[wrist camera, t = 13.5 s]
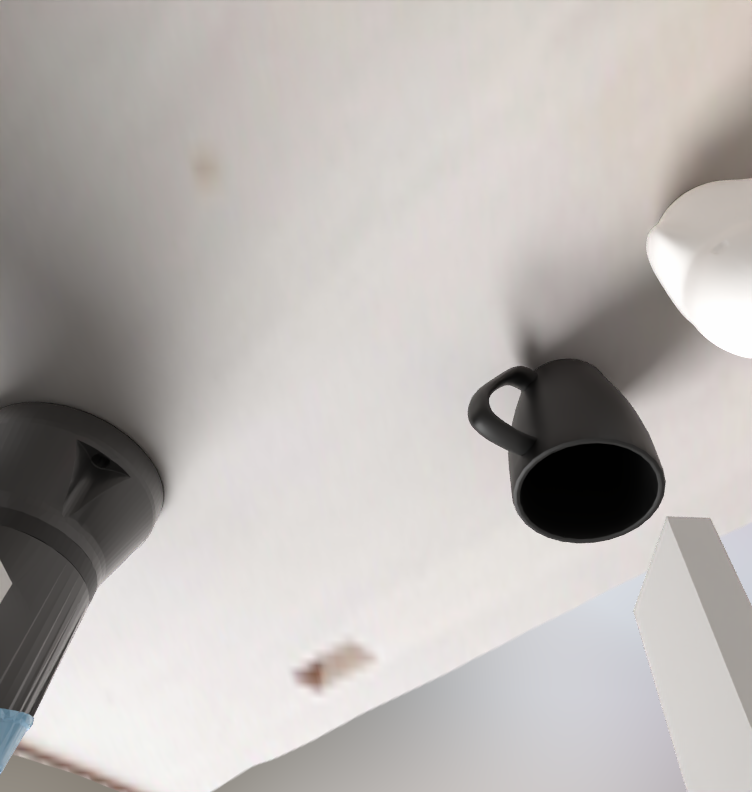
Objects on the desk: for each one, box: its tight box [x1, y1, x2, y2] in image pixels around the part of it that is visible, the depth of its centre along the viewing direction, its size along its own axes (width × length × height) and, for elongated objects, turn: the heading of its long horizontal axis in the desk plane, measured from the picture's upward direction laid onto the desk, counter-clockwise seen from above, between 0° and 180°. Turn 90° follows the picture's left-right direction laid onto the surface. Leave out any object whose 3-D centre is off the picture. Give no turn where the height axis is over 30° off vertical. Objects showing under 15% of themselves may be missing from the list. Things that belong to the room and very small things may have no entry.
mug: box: [468, 359, 666, 543], centre depth 40 cm, size 8×12×10 cm
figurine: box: [646, 178, 752, 358], centre depth 32 cm, size 7×8×12 cm
